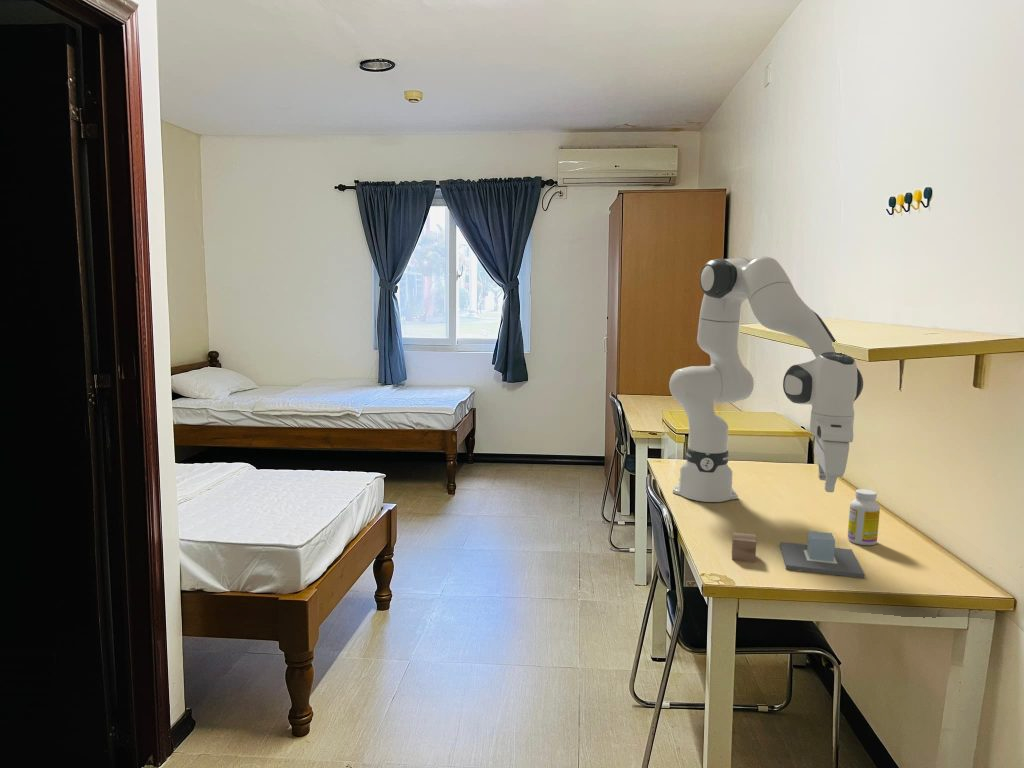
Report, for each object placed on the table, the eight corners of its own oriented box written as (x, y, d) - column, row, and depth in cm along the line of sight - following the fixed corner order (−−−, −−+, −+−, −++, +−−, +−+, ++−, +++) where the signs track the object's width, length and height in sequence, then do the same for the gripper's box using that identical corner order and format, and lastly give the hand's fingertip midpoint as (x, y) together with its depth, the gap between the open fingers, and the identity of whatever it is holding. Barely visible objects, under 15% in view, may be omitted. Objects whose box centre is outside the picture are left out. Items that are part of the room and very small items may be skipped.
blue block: (806, 551, 168) (808, 530, 167) (829, 553, 167) (831, 533, 166) (809, 559, 163) (811, 538, 163) (833, 561, 162) (835, 540, 161)
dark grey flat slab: (779, 545, 174) (780, 541, 174) (851, 553, 170) (851, 549, 170) (786, 569, 160) (786, 564, 160) (864, 578, 156) (864, 573, 156)
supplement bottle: (880, 541, 178) (885, 492, 176) (871, 548, 174) (876, 497, 172) (852, 534, 183) (857, 486, 181) (842, 541, 178) (847, 491, 176)
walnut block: (731, 552, 170) (732, 532, 169) (753, 555, 168) (755, 534, 168) (731, 560, 165) (733, 539, 164) (754, 562, 164) (756, 542, 163)
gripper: (810, 415, 171) (805, 471, 173) (822, 434, 152) (817, 497, 154) (838, 417, 169) (833, 474, 172) (855, 436, 150) (848, 500, 152)
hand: (825, 485), depth 163 cm, fingers open, 8 cm apart
